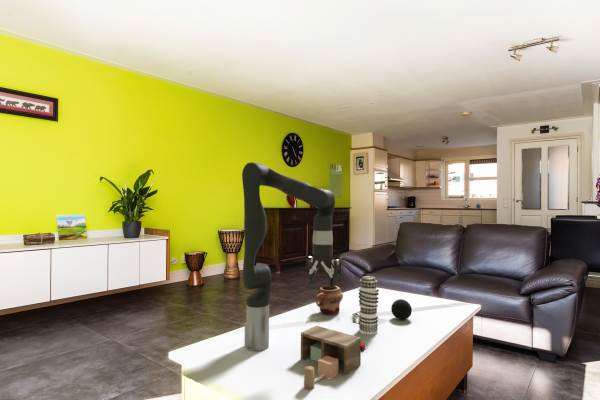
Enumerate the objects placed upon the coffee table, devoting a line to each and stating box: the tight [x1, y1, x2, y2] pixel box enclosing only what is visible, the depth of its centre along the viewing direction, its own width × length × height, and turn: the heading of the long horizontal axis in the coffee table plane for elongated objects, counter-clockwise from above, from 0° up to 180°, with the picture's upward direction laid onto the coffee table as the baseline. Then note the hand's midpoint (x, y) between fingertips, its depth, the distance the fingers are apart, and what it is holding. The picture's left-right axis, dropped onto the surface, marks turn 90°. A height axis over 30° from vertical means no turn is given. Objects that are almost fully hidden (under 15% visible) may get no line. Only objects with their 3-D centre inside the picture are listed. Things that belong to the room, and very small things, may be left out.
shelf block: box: [309, 342, 321, 362], centre depth 137 cm, size 5×5×5 cm
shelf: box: [300, 325, 362, 376], centre depth 134 cm, size 20×10×10 cm, turn 52°
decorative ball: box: [391, 298, 412, 321], centre depth 184 cm, size 10×10×10 cm
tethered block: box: [303, 355, 339, 390], centre depth 121 cm, size 5×15×6 cm, turn 142°
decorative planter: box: [314, 285, 344, 316], centre depth 192 cm, size 20×12×14 cm, turn 141°
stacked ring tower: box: [358, 275, 380, 336], centre depth 166 cm, size 9×9×25 cm
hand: (322, 285), depth 135 cm, fingers open, 8 cm apart
